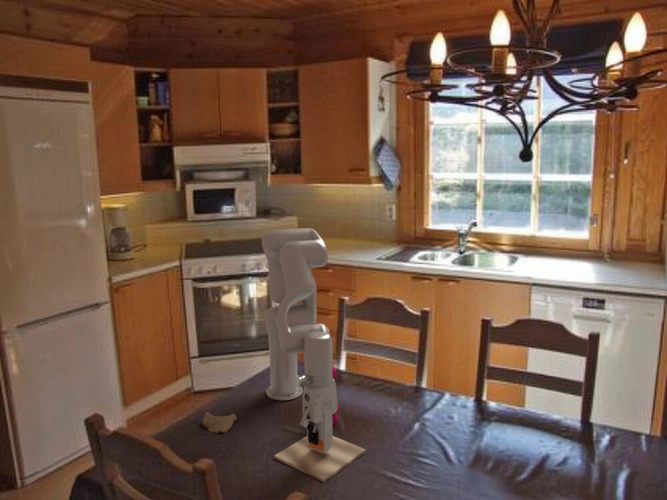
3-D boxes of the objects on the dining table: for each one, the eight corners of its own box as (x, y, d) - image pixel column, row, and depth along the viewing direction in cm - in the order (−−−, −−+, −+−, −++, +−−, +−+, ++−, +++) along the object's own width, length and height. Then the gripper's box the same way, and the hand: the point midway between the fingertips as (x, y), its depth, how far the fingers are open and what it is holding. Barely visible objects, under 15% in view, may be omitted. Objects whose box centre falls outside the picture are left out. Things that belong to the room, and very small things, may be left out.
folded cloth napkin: (317, 432, 165) (317, 429, 165) (365, 452, 154) (365, 449, 154) (274, 458, 152) (274, 455, 152) (323, 482, 140) (323, 479, 140)
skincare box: (306, 448, 152) (305, 408, 150) (315, 441, 156) (314, 402, 154) (325, 454, 149) (324, 413, 147) (333, 447, 153) (332, 407, 151)
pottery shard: (237, 422, 176) (208, 413, 177) (240, 410, 175) (210, 401, 176) (225, 441, 165) (195, 431, 166) (228, 429, 164) (197, 419, 165)
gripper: (307, 392, 140) (309, 457, 143) (348, 371, 153) (349, 431, 156) (286, 384, 145) (288, 447, 148) (328, 364, 157) (329, 423, 161)
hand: (319, 438), depth 152 cm, fingers closed on skincare box, 4 cm apart
